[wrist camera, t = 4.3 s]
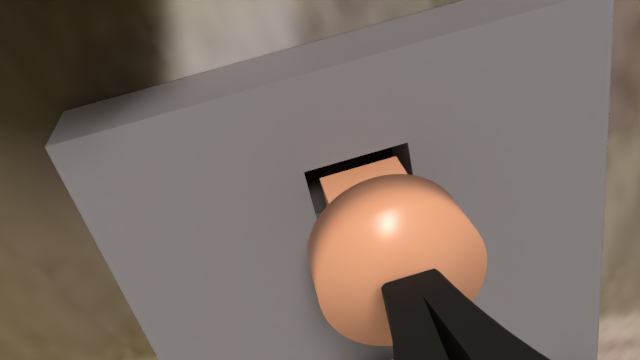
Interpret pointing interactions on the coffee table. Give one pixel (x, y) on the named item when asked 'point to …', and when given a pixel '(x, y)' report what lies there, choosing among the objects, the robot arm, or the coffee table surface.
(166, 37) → the coffee table surface
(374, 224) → the terracotta button
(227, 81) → the button panel
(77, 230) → the coffee table surface
